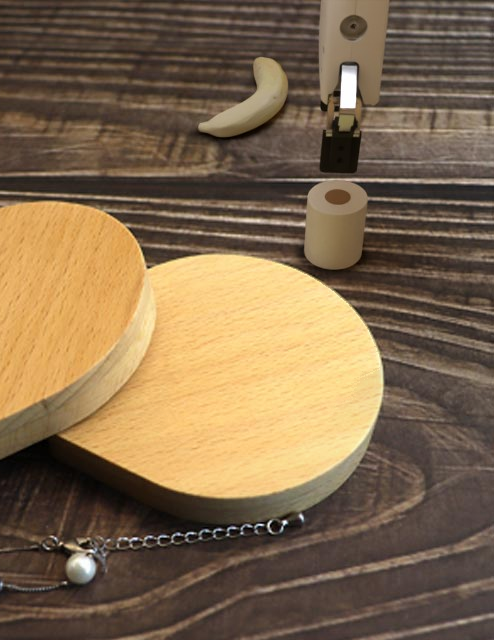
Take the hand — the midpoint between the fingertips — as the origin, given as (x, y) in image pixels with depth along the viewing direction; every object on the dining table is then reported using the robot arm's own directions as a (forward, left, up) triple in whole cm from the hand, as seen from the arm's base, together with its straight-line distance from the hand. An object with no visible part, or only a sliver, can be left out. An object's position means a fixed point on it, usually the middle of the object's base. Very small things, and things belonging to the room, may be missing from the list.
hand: (337, 139), depth 92 cm
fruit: (-12, -26, -13) cm, 31 cm away
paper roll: (0, 0, -13) cm, 13 cm away
